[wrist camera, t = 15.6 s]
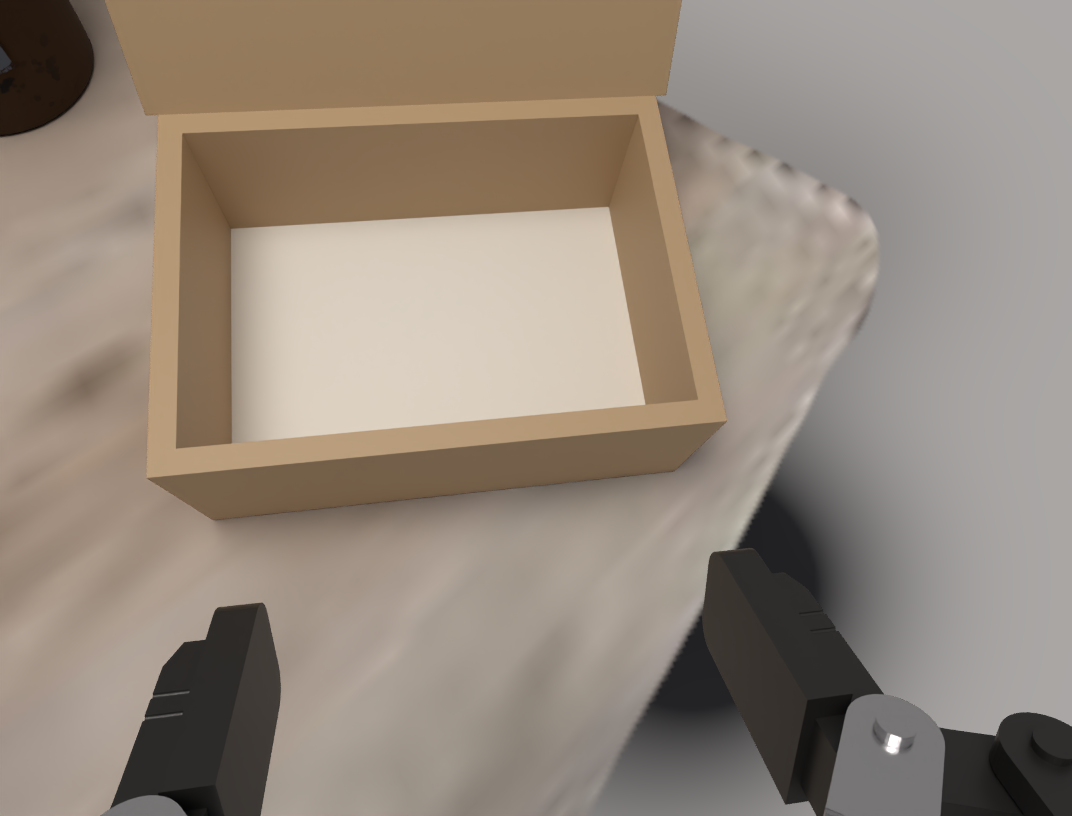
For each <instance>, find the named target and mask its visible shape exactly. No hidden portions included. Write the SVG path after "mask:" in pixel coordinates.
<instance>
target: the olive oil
mask: <svg viewBox="0 0 1072 816" xmlns="http://www.w3.org/2000/svg"><path fill="white" fill-rule="evenodd" d="M92 67H93V52H92V47H91V43H90V40H89V38H88V36H87V34H86V31H85V30H84V28H83V26H82V24H81V22H80V20H79V18H78V16H77V14H76V13H75V11H74V9H73V7H72V5H71V3H70V2H69V0H0V135H6V134H13V133H18V132H22V131H26V130H29V129H32V128H35V127H37V126H40V125H42V124H44V123H46V122H48V121H50V120H52V119H53V118H55V117H57V116H58V115H60V114H61V113H62V112H64V111H65V110H66V109H67V108H68V107H70V106H71V105H72V104H73V103H74V102H75V100H76V99H77V98H78V97H79V96H80V94H81V93H82V91H83V90H84V88H85V87H86V85H87V83H88V80H89V78H90V75H91V72H92Z"/></svg>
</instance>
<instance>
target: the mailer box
mask: <svg viewBox="0 0 1072 816" xmlns="http://www.w3.org/2000/svg"><path fill="white" fill-rule="evenodd" d="M726 422H727V418H726V414H725V409H724V404H723V400H722V395H721V391H720V386H719V382H718V377H717V373H716V368H715V363H714V359H713V354H712V350H711V345H710V341H709V336H708V332H707V327H706V322H705V318H704V313H703V309H702V304H701V300H700V295H699V291H698V286H697V282H696V277H695V272H694V268H693V263H692V259H691V254H690V250H689V245H688V241H687V236H686V231H685V227H684V222H683V218H682V213H681V209H680V204H679V200H678V195H677V190H676V186H675V181H674V177H673V172H672V168H671V163H670V159H669V154H668V150H667V145H666V140H665V136H664V131H663V127H662V122H661V118H660V113H659V109H658V104H657V99H656V96H636V97H610V98H584V99H558V100H532V101H507V102H481V103H455V104H429V105H403V106H378V107H352V108H326V109H300V110H274V111H249V112H223V113H197V114H171V115H158V132H157V163H156V195H155V226H154V257H153V288H152V319H151V350H150V381H149V412H148V443H147V475H146V478H147V479H149V480H150V481H152V482H154V483H155V484H157V485H158V486H160V487H162V488H163V489H165V490H166V491H168V492H169V493H171V494H173V495H174V496H176V497H177V498H179V499H181V500H182V501H184V502H185V503H187V504H188V505H190V506H192V507H193V508H195V509H196V510H198V511H200V512H201V513H203V514H204V515H206V516H207V517H209V518H211V519H212V520H218V519H228V518H237V517H246V516H256V515H265V514H275V513H284V512H293V511H303V510H312V509H322V508H331V507H341V506H350V505H359V504H369V503H378V502H388V501H397V500H407V499H416V498H425V497H435V496H444V495H454V494H463V493H473V492H482V491H491V490H501V489H510V488H520V487H529V486H538V485H548V484H557V483H567V482H576V481H586V480H595V479H604V478H614V477H623V476H633V475H642V474H652V473H661V472H670V471H675V470H676V469H677V468H678V467H679V466H680V465H681V464H682V463H683V462H684V461H685V460H686V459H687V458H688V457H690V456H691V455H692V454H693V453H694V452H695V451H696V450H697V449H698V448H699V447H700V446H701V445H702V444H703V443H704V442H705V441H706V440H708V439H709V438H710V437H711V436H712V435H713V434H714V433H715V432H716V431H717V430H718V429H719V428H720V427H721V426H722V425H723V424H724V423H726Z"/></svg>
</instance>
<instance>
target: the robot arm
mask: <svg viewBox="0 0 1072 816" xmlns="http://www.w3.org/2000/svg"><path fill="white" fill-rule="evenodd" d="M703 630H704V636H705V640H706V643H707V646H708V649H709V651H710V653H711V655H712V657H713V659H714V661H715V663H716V665H717V667H718V669H719V671H720V673H721V675H722V677H723V679H724V681H725V683H726V685H727V687H728V689H729V691H730V693H731V695H732V698H733V700H734V702H735V704H736V706H737V708H738V710H739V712H740V714H741V716H742V718H743V720H744V722H745V724H746V726H747V728H748V730H749V732H750V734H751V736H752V738H753V740H754V742H755V744H756V746H757V748H758V750H759V752H760V754H761V756H762V758H763V760H764V762H765V764H766V766H767V768H768V770H769V772H770V774H771V776H772V778H773V780H774V782H775V784H776V786H777V789H778V790H779V793H780V794H781V796H782V799H783V801H784V803H785V804H792V803H799V802H805V801H809V802H810V804H811V806H812V808H813V810H814V812H815V813H816V815H817V816H1072V727H1071V726H1069V725H1068V724H1066V723H1064V722H1062V721H1060V720H1057V719H1055V718H1052V717H1049V716H1046V715H1041V714H1037V713H1029V712H1027V713H1016V714H1013V715H1010V716H1008V717H1006V718H1005V719H1004V720H1003V721H1002V722H1001V724H1000V726H999V729H998V732H997V734H996V736H993V735H985V734H978V733H971V732H964V731H956V730H950V729H944V728H939V727H938V726H937V724H936V723H935V722H934V721H933V720H932V719H931V717H930V716H928V715H927V714H926V713H925V712H924V711H922V710H921V709H920V708H918V707H917V706H915V705H913V704H911V703H909V702H908V701H905V700H903V699H900V698H897V697H894V696H889V695H884V694H883V692H882V691H881V689H880V688H879V687H878V685H877V684H876V683H875V681H874V680H873V679H872V677H871V676H870V674H869V673H868V672H867V670H866V669H865V667H864V666H863V665H862V663H861V662H860V661H859V659H858V658H857V656H856V655H855V654H854V653H853V651H852V649H851V648H850V647H849V645H848V644H847V642H846V641H845V640H844V638H843V637H842V636H841V634H840V633H839V631H836V630H835V626H834V625H833V623H832V622H831V620H830V619H829V618H828V616H827V615H826V614H824V613H823V609H822V608H821V607H820V605H819V604H818V602H817V601H816V600H815V598H814V597H813V596H812V594H811V593H810V591H809V590H808V589H807V588H806V587H804V586H803V585H801V584H800V583H799V582H797V581H796V580H794V579H793V578H792V577H790V576H789V575H787V574H786V573H785V572H783V573H774V574H772V573H771V572H770V570H769V569H768V567H767V566H766V564H765V563H764V561H763V560H762V559H761V557H760V555H759V554H758V553H757V551H756V550H754V549H753V548H747V549H737V550H728V551H719V552H713V553H712V554H711V556H710V559H709V565H708V574H707V582H706V591H705V600H704V608H703ZM280 695H281V683H280V671H279V665H278V661H277V656H276V651H275V647H274V642H273V637H272V633H271V628H270V623H269V619H268V614H267V610H266V607H265V605H264V604H263V603H254V604H245V605H236V606H227V607H219V608H217V609H216V610H215V612H214V615H213V618H212V621H211V624H210V627H209V631H208V634H207V637H206V640H200V641H192V642H184V643H183V644H182V646H181V647H180V648H179V649H178V650H177V651H176V652H175V653H174V655H173V656H172V657H171V658H170V659H169V660H168V661H167V663H166V664H165V665H164V666H163V667H162V670H161V673H160V675H159V678H158V681H157V684H156V686H155V689H154V692H153V699H151V700H150V703H149V705H148V708H147V711H146V714H145V721H143V722H142V724H141V727H140V730H139V733H138V735H137V738H136V741H135V744H134V746H133V749H132V752H131V754H130V757H129V760H128V763H127V765H126V768H125V771H124V773H123V776H122V779H121V782H120V784H119V787H118V790H117V793H116V795H115V798H114V801H113V803H112V805H111V808H110V809H109V810H108V811H106V812H105V813H104V814H102V815H101V816H260V815H261V809H262V804H263V798H264V792H265V786H266V781H267V775H268V769H269V764H270V758H271V752H272V746H273V741H274V735H275V729H276V724H277V718H278V712H279V706H280Z"/></svg>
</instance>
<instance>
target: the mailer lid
mask: <svg viewBox="0 0 1072 816" xmlns="http://www.w3.org/2000/svg"><path fill="white" fill-rule="evenodd" d="M681 2H682V0H105V3H106V6H107V8H108V11H109V14H110V17H111V20H112V22H113V25H114V28H115V31H116V34H117V36H118V39H119V42H120V45H121V48H122V50H123V53H124V56H125V59H126V62H127V64H128V67H129V70H130V73H131V76H132V78H133V81H134V84H135V87H136V90H137V92H138V95H139V98H140V101H141V104H142V106H143V109H144V112H145V115H170V114H196V113H222V112H248V111H274V110H299V109H325V108H351V107H377V106H403V105H428V104H454V103H480V102H506V101H532V100H558V99H583V98H609V97H635V96H661V95H666V92H667V86H668V81H669V75H670V68H671V62H672V56H673V51H674V44H675V39H676V33H677V26H678V20H679V14H680V8H681Z"/></svg>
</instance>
